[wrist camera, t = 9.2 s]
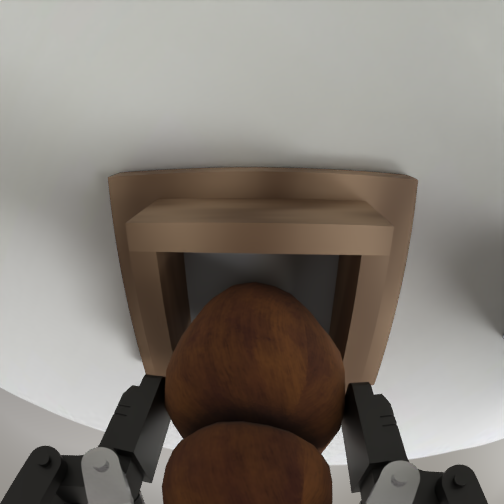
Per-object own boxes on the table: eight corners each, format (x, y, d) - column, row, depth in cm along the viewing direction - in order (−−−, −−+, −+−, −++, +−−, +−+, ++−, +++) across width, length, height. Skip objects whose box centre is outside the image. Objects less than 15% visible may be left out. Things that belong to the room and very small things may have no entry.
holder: (406, 174, 16) (457, 198, 11) (369, 370, 21) (386, 428, 16) (120, 172, 17) (65, 195, 11) (153, 365, 22) (129, 419, 17)
